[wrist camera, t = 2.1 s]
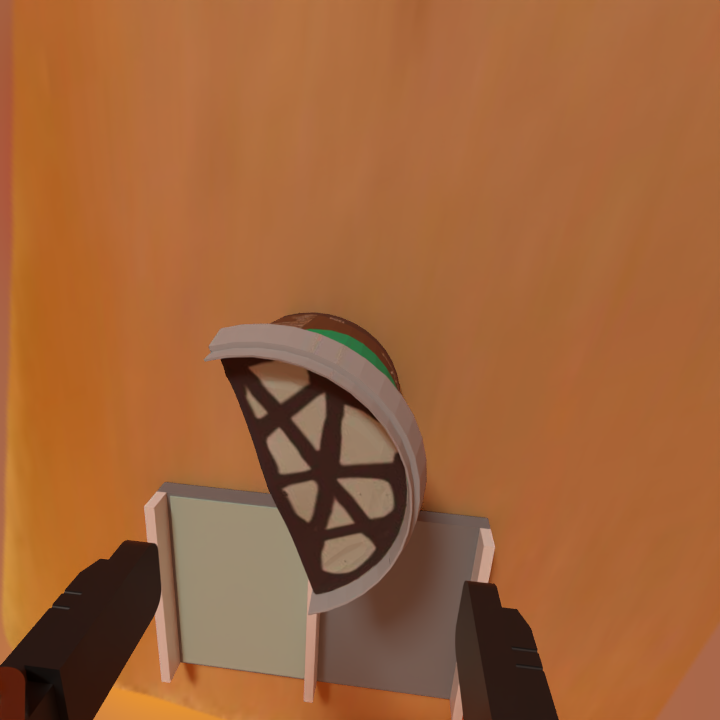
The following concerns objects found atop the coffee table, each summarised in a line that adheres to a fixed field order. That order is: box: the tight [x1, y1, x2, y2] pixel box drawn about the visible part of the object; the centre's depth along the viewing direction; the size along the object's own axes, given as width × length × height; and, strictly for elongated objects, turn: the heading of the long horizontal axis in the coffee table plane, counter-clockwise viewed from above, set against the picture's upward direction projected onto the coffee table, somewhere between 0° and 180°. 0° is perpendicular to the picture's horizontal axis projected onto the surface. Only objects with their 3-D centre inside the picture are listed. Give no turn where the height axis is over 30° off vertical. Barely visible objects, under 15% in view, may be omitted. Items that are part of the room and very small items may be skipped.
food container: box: [204, 313, 426, 615], centre depth 22 cm, size 12×6×10 cm, turn 16°
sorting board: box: [144, 482, 495, 720], centre depth 30 cm, size 20×14×2 cm
